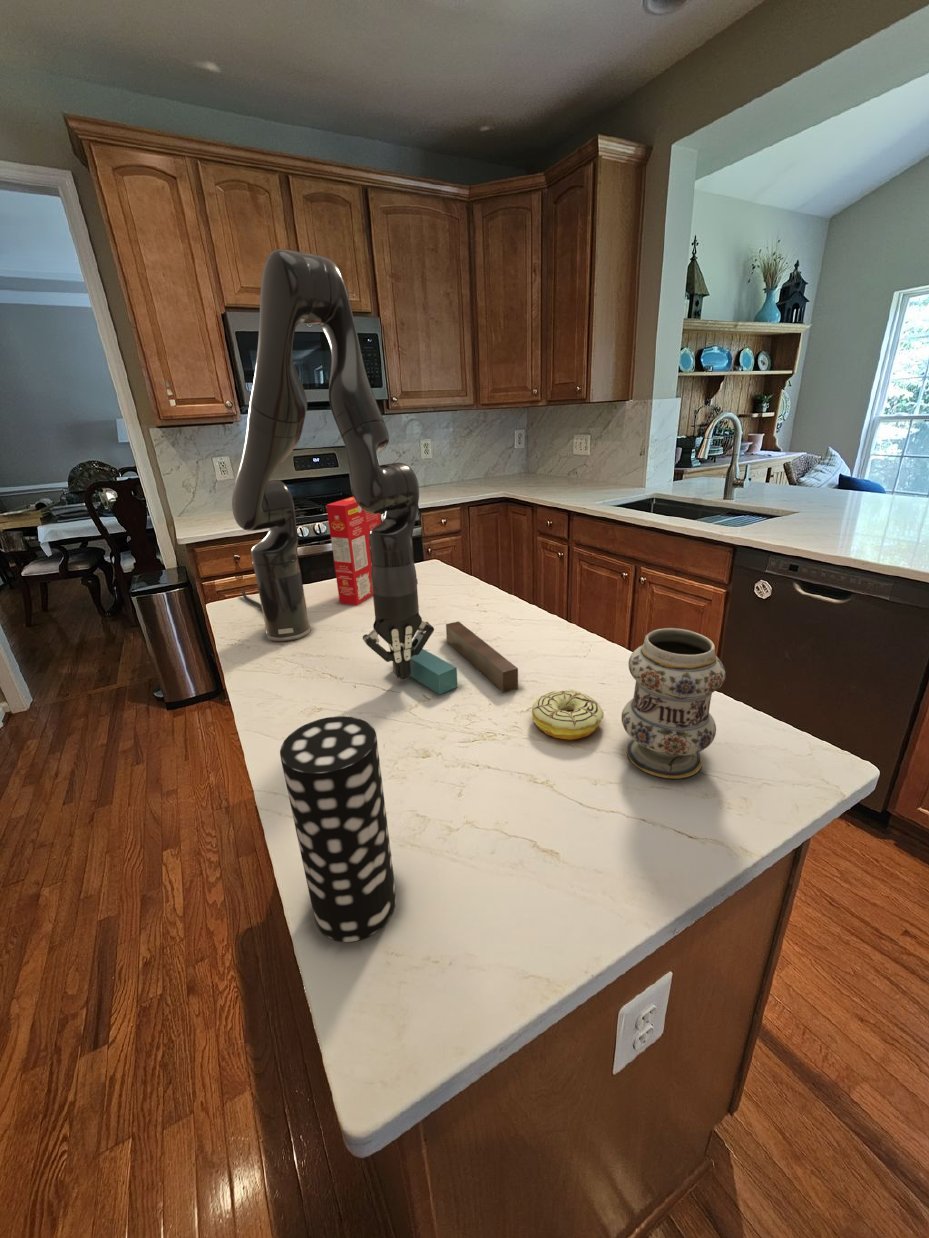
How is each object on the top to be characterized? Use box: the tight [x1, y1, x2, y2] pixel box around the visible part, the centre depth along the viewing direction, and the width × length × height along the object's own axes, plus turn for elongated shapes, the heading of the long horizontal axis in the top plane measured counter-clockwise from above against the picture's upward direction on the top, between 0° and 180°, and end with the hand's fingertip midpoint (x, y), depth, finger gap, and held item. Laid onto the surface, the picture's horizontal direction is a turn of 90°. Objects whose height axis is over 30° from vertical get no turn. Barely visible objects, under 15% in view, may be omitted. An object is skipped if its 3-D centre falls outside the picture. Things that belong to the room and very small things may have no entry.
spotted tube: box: [279, 715, 397, 943], centre depth 51 cm, size 8×8×20 cm
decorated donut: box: [531, 689, 605, 741], centre depth 82 cm, size 10×11×4 cm
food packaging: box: [325, 495, 382, 606], centre depth 136 cm, size 15×5×25 cm, turn 157°
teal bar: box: [408, 648, 459, 696], centre depth 97 cm, size 14×4×4 cm, turn 40°
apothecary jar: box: [621, 627, 726, 780], centre depth 71 cm, size 12×12×18 cm
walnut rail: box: [445, 621, 519, 693], centre depth 102 cm, size 24×3×4 cm, turn 26°
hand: (402, 677), depth 96 cm, fingers closed
